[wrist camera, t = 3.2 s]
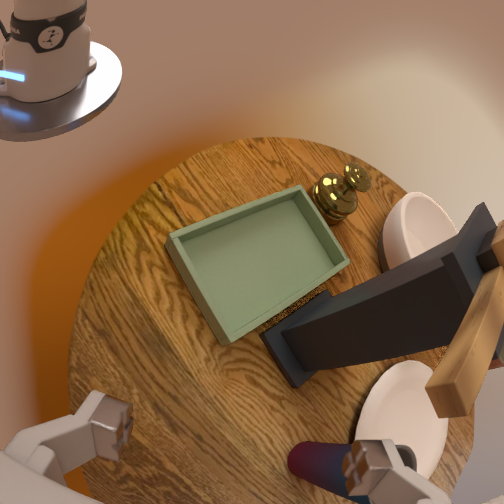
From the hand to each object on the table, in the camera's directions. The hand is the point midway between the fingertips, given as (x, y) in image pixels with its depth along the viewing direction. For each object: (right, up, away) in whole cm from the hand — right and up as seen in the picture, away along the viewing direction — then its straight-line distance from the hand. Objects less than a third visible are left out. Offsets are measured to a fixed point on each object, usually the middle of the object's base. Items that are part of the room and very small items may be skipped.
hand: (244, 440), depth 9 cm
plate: (+24, -23, +30) cm, 45 cm away
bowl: (+30, +4, +45) cm, 54 cm away
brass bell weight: (+12, +14, +41) cm, 45 cm away
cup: (+7, -19, +23) cm, 31 cm away
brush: (+14, +3, +5) cm, 15 cm away
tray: (+2, +6, +32) cm, 32 cm away
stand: (+8, -4, +30) cm, 31 cm away
